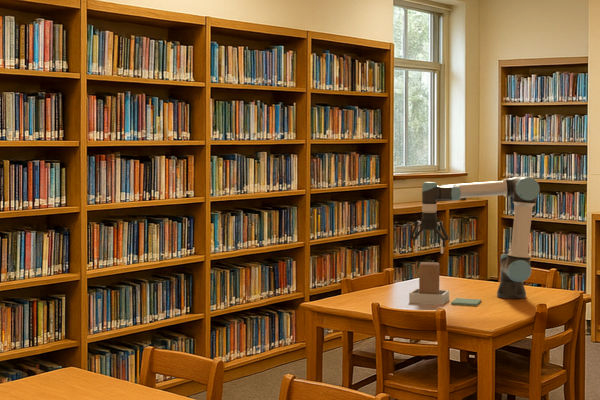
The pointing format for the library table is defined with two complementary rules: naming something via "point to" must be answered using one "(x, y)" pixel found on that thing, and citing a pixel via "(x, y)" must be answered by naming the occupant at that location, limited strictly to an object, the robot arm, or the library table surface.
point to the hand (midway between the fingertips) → (429, 252)
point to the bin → (429, 297)
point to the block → (429, 278)
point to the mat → (466, 302)
